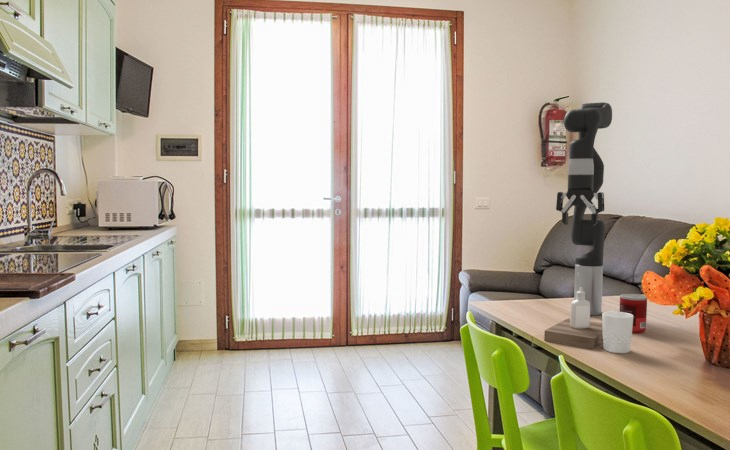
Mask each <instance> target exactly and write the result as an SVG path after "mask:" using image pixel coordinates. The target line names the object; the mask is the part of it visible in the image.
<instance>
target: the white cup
mask: <svg viewBox="0 0 730 450" xmlns="http://www.w3.org/2000/svg"><path fill="white" fill-rule="evenodd" d="M601 315H602V316H601V319H602V320H601V323H602V333H603V343H602V349H603V350H604V351H606V352H609V353H614V354H627V353H630V352H631V351H630V350H631V343H632V337H633V333H632V328H633V317H634V316H633V315H632V314H629V313H625V312H620V311H617V310H614V311H613V310H612V311H611V310H610V311H603V312H601Z"/></svg>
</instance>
